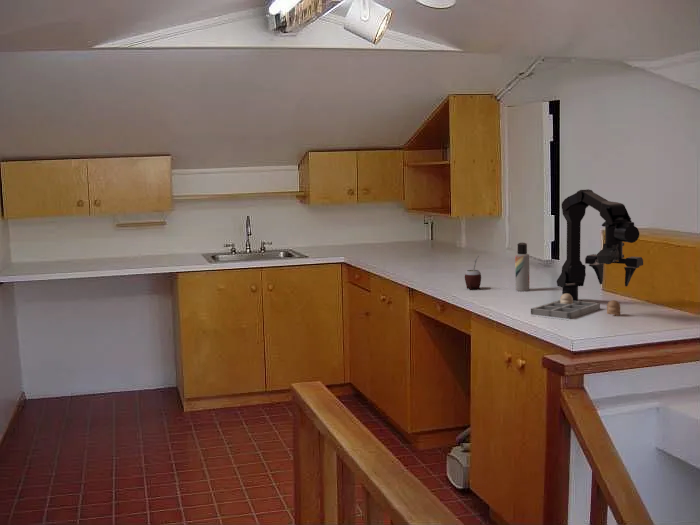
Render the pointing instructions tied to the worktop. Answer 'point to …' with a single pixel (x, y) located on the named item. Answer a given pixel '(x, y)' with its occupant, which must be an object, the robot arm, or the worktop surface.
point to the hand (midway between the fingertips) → (613, 285)
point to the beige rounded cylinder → (566, 299)
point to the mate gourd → (473, 278)
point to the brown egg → (613, 308)
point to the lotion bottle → (522, 268)
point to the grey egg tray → (565, 309)
